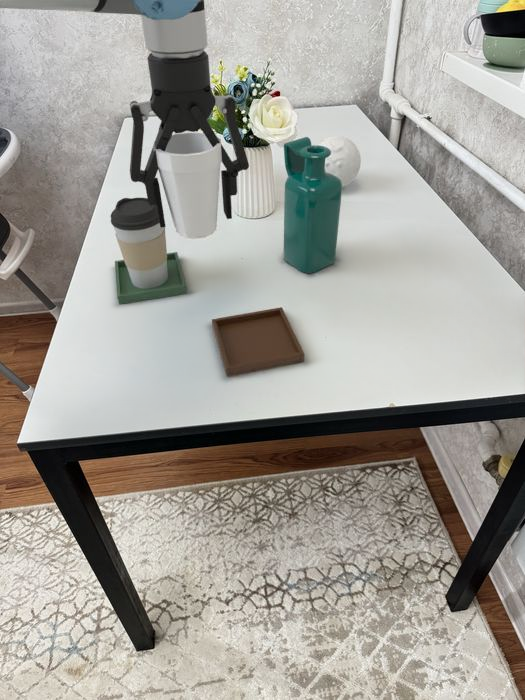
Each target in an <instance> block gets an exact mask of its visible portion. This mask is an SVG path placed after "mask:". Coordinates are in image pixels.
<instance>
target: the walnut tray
mask: <svg viewBox="0 0 525 700" xmlns="http://www.w3.org/2000/svg"><path fill="white" fill-rule="evenodd" d="M211 325H212V330H213V334H214V337H215V340H216V343H217V347H218V350H219V354H220V358H221V360H222V364H223V368H224V371H225V374H226V377H233V376H238V375H243V374H248V373H249V374H250V373H253V372H258V371H259V372H260V371H263V370H268V369H274V368H278V367H284V366H289V365H294V364H300V363H304V362H305V352H304V350H303V348H302V346H301V344H300V341H299V340H298V338H297V335H296V334H295V331H294V330H293V327H292V325H291V323H290V321H289V319H288V317H287V314H286V312H285V310H284V309H283V307H275V308H270V309H269V308H268V309H263V310H257V311H252V312H246V313H240V314H233V315H229V316H224V317H218V318H217V317H216V318H212V319H211Z"/></svg>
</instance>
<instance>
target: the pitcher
mask: <svg viewBox="0 0 525 700" xmlns="http://www.w3.org/2000/svg"><path fill="white" fill-rule="evenodd" d="M330 155H331V150H330V149H328V148H326V147H324V146H319V145H318V144H316V145H313V144H312V141H311V138H310V137H308V136H304V137H301V138H298V139H293V140H291V141H287V142H285V143H283V157H284V166H285V171H286V174H287V178H286V180H285V182H284V203H283V204H284V209H283V259H284V261H285V262H286V263H288V264H289V265H291V266H293V267H294V268H295V269H297V270H298V271H301V272H302V273H304V274H313V273H315V272H318V271H320V270H322V269H325V268H326V267H328V266H330V265H333V264H334V263H335V261H336V255H337V245H338V244H337V243H338V236H339V235H338V234H339V226H340V225H339V224H340V217H341V216H340V214H341V204H342V194H343V188H342V182H341V180H340V179H339V178H338V177H336V176H334V175H332V174H330V173H328V172H326V171H325V158H327V157H329V156H330Z"/></svg>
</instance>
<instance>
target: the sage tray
mask: <svg viewBox="0 0 525 700" xmlns="http://www.w3.org/2000/svg"><path fill="white" fill-rule="evenodd" d="M181 265H182V264H181V262H180V257H179V254H178V251H174V252H167V271H168V279H167V280H166V282H165V283H163V284H162V285H160V286H158V287H155V288H149V289H143V288H138V287H136V286H134V285H133V283H132V281H131V278H130V275H129V272H128V269H127V266H126V264H125V262H124V259H119V260H115V261H114V269H115V270H114V271H115V284H116V296H117V297H116V298H117V302H118V305H124V304H129V303H136V302H142V301H148V300H154V299H160V298H161V299H162V298H166V297H173V296H180V295H185V294H187V293H188V292H187V291H188V290H187V285H186V281H185V277H184V272H183V270H182V266H181Z"/></svg>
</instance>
